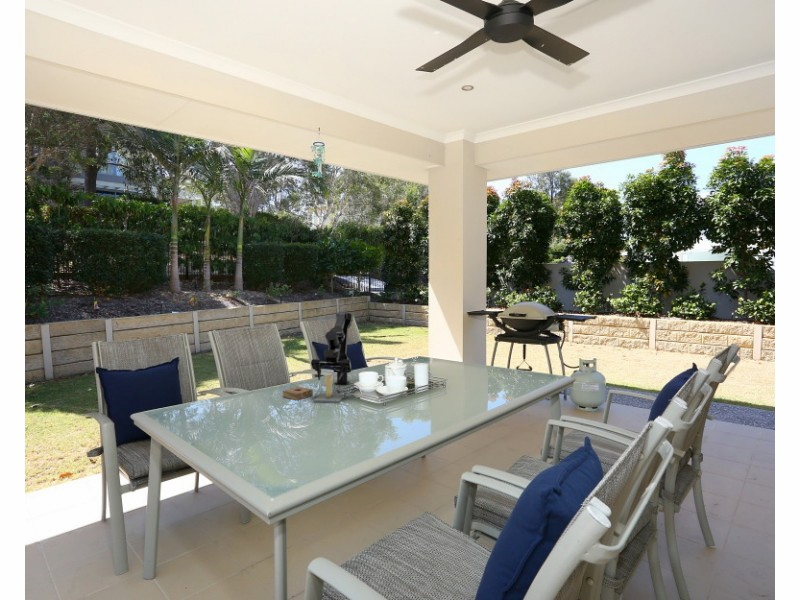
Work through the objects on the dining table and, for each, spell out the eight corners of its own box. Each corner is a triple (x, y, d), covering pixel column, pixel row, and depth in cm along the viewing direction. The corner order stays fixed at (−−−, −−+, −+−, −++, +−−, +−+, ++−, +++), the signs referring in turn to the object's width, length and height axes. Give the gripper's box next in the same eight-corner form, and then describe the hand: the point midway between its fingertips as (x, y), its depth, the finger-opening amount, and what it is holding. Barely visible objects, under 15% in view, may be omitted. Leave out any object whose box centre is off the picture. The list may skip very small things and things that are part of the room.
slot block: (298, 392, 230) (298, 386, 230) (312, 395, 224) (312, 389, 224) (283, 396, 222) (282, 390, 222) (297, 400, 216) (297, 394, 216)
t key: (327, 395, 221) (327, 374, 220) (333, 395, 221) (332, 374, 220) (325, 398, 216) (325, 377, 215) (330, 398, 216) (330, 377, 215)
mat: (320, 395, 225) (320, 393, 225) (344, 395, 224) (344, 393, 224) (313, 402, 213) (313, 400, 213) (339, 403, 212) (339, 400, 212)
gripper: (311, 342, 221) (305, 370, 211) (350, 342, 220) (345, 371, 210) (316, 355, 230) (310, 382, 219) (353, 356, 228) (349, 383, 218)
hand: (328, 379), depth 216 cm, fingers open, 9 cm apart
